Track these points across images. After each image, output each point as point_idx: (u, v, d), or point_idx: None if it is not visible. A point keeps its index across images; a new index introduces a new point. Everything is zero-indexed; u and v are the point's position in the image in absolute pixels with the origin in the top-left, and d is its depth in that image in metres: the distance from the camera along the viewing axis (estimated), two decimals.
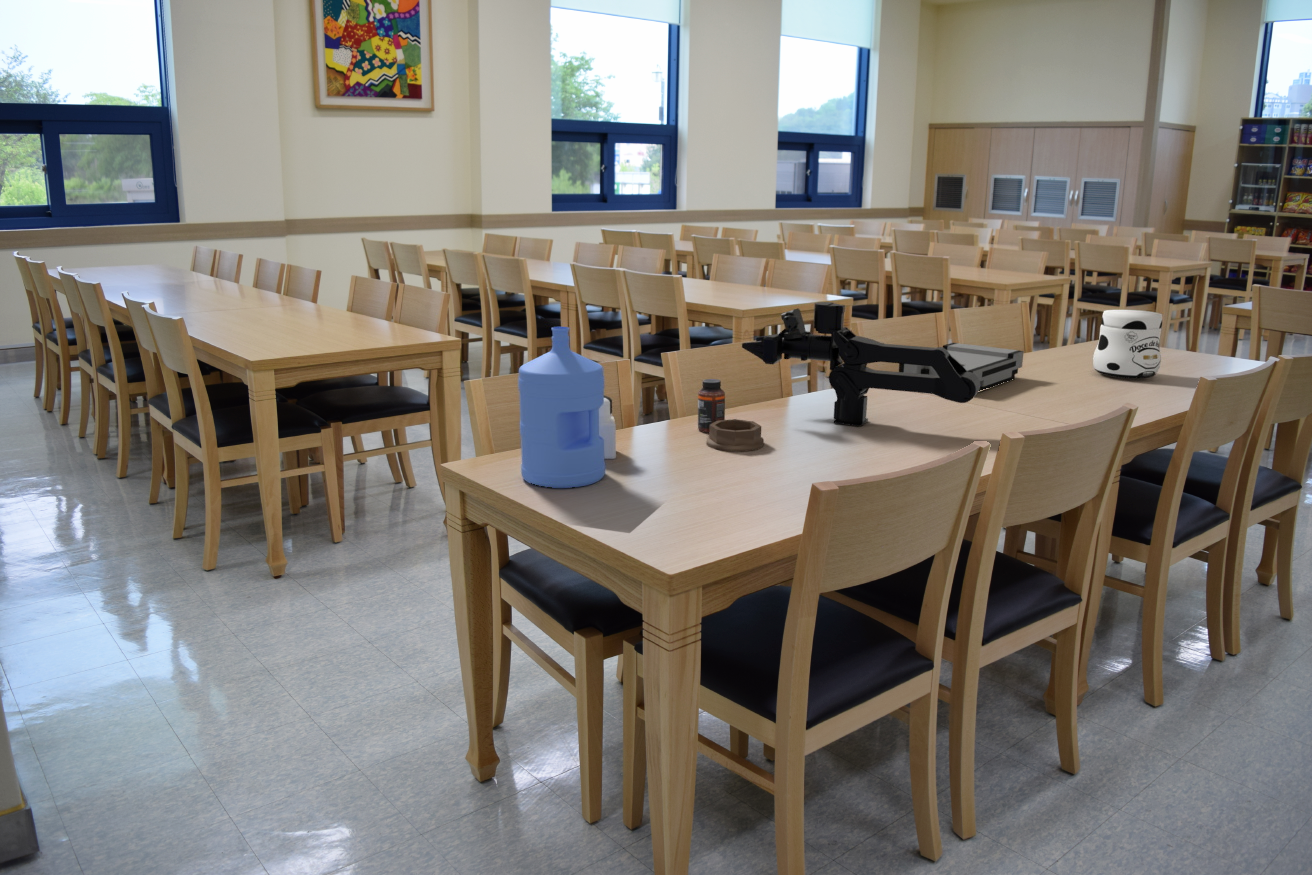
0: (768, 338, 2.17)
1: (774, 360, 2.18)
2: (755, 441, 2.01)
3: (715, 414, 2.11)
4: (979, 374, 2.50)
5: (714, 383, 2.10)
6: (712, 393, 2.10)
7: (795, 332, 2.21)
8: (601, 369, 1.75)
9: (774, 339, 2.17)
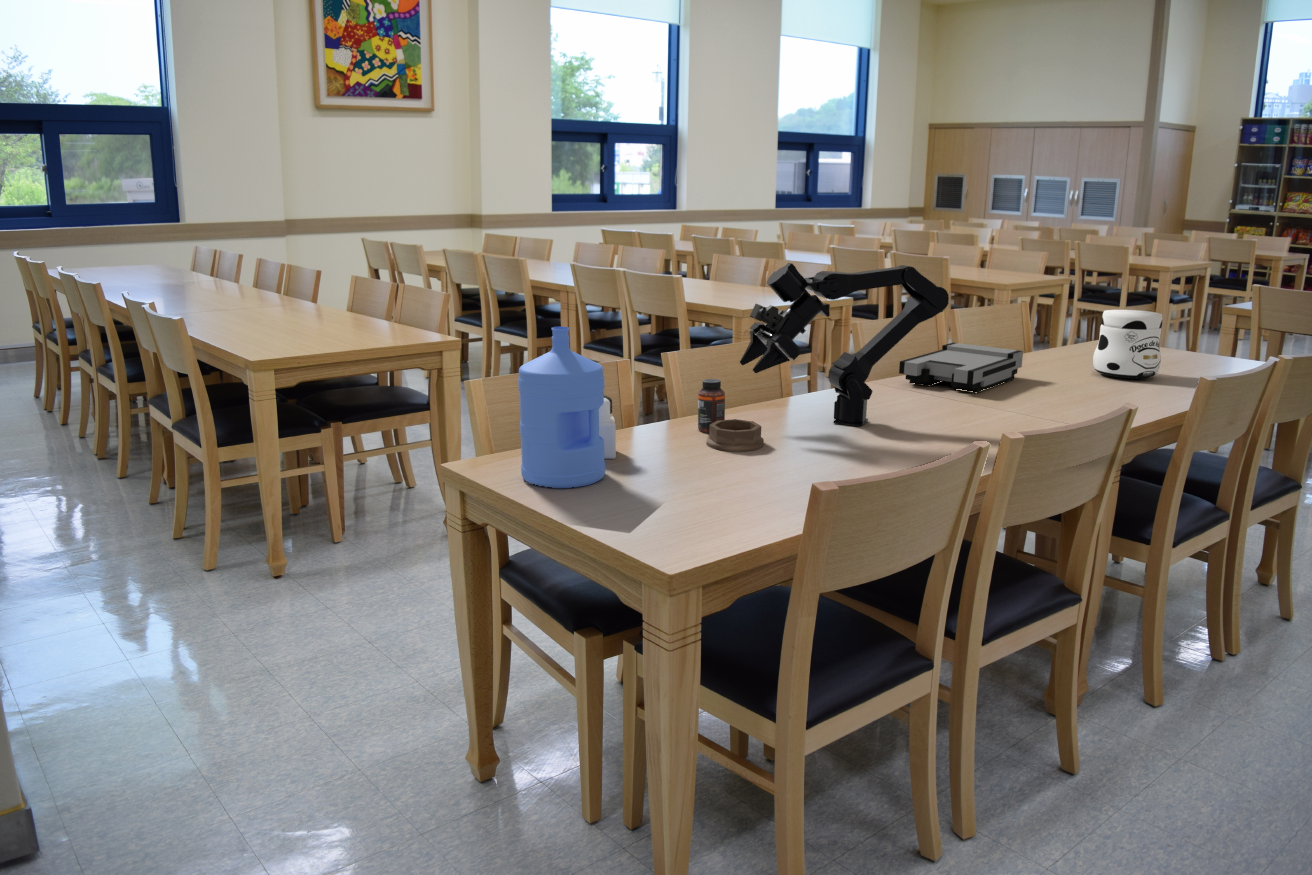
0: (778, 339, 2.04)
1: (798, 349, 2.05)
2: (755, 441, 2.01)
3: (715, 414, 2.11)
4: (979, 374, 2.50)
5: (714, 383, 2.10)
6: (712, 393, 2.10)
7: (779, 319, 2.10)
8: (601, 369, 1.75)
9: (783, 335, 2.04)
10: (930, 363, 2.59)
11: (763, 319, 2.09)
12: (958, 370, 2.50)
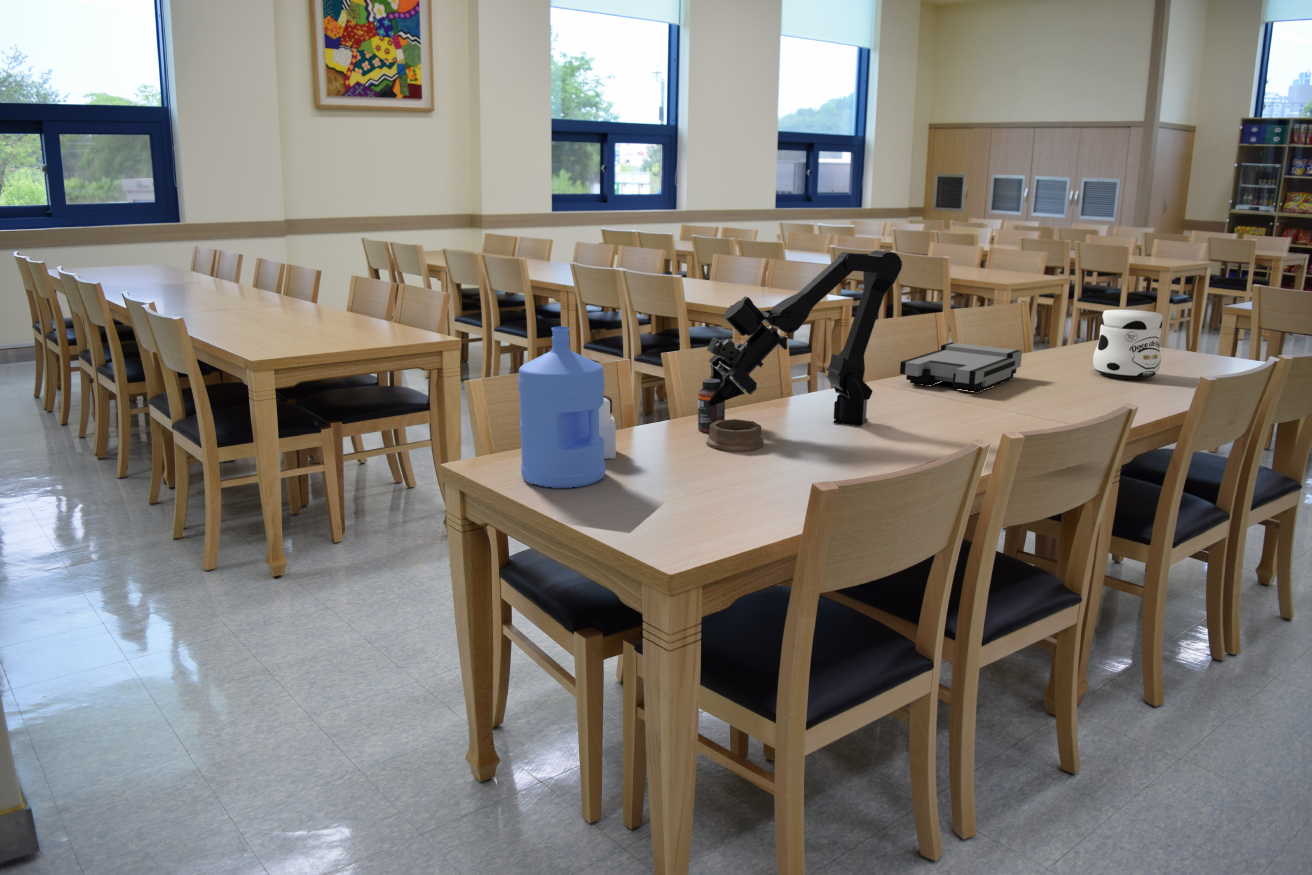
0: (734, 374, 2.03)
1: (755, 384, 2.05)
2: (755, 441, 2.01)
3: (715, 414, 2.11)
4: (981, 374, 2.50)
5: (714, 383, 2.10)
6: (712, 393, 2.10)
7: (736, 353, 2.09)
8: (601, 369, 1.75)
9: (739, 370, 2.03)
10: (931, 363, 2.59)
11: (720, 353, 2.08)
12: (960, 370, 2.50)
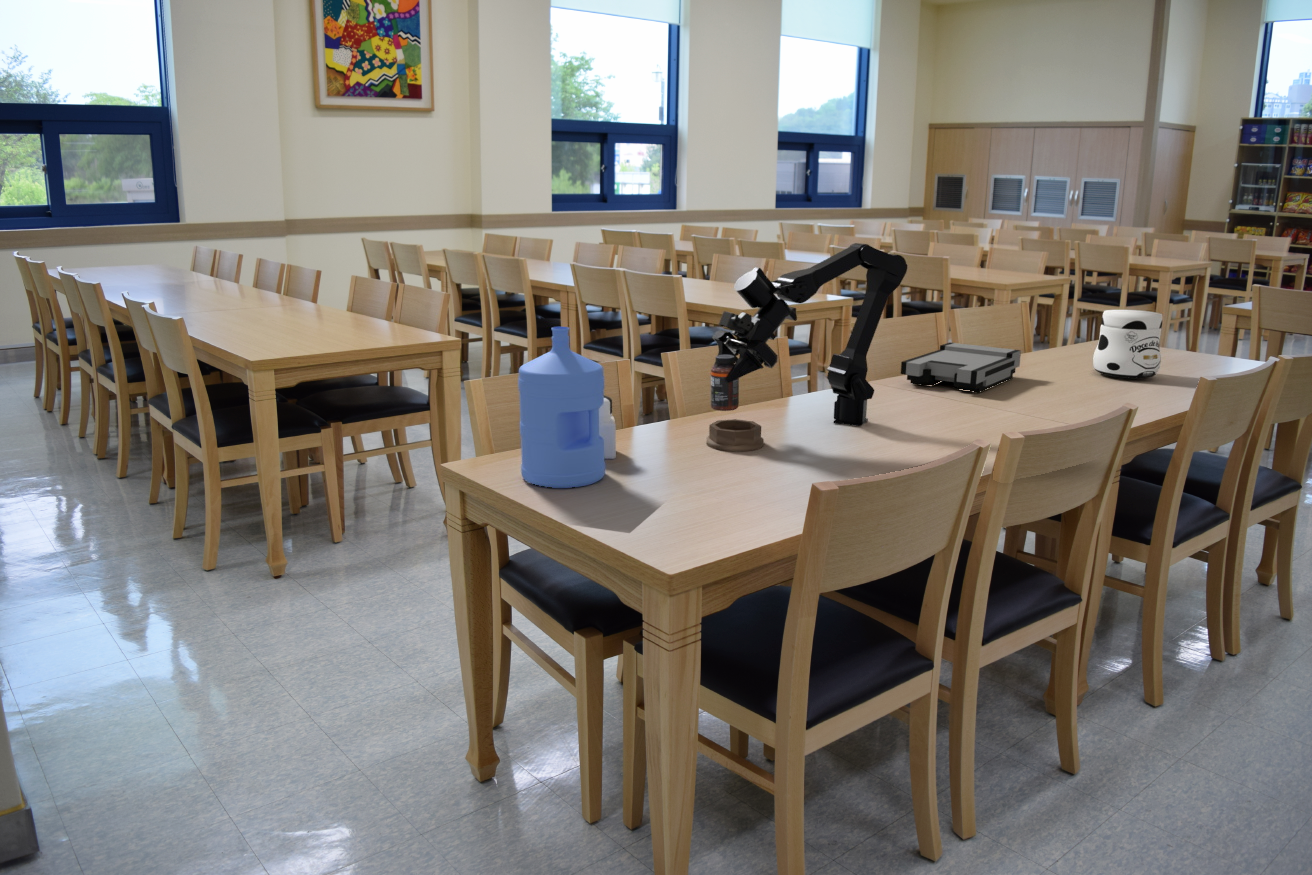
0: (757, 347, 1.96)
1: (776, 357, 1.98)
2: (755, 441, 2.01)
3: (732, 391, 2.03)
4: (982, 374, 2.51)
5: (729, 359, 2.02)
6: (729, 369, 2.02)
7: (750, 326, 2.02)
8: (601, 369, 1.75)
9: (762, 343, 1.96)
10: (932, 363, 2.59)
11: (735, 327, 2.00)
12: (961, 370, 2.50)
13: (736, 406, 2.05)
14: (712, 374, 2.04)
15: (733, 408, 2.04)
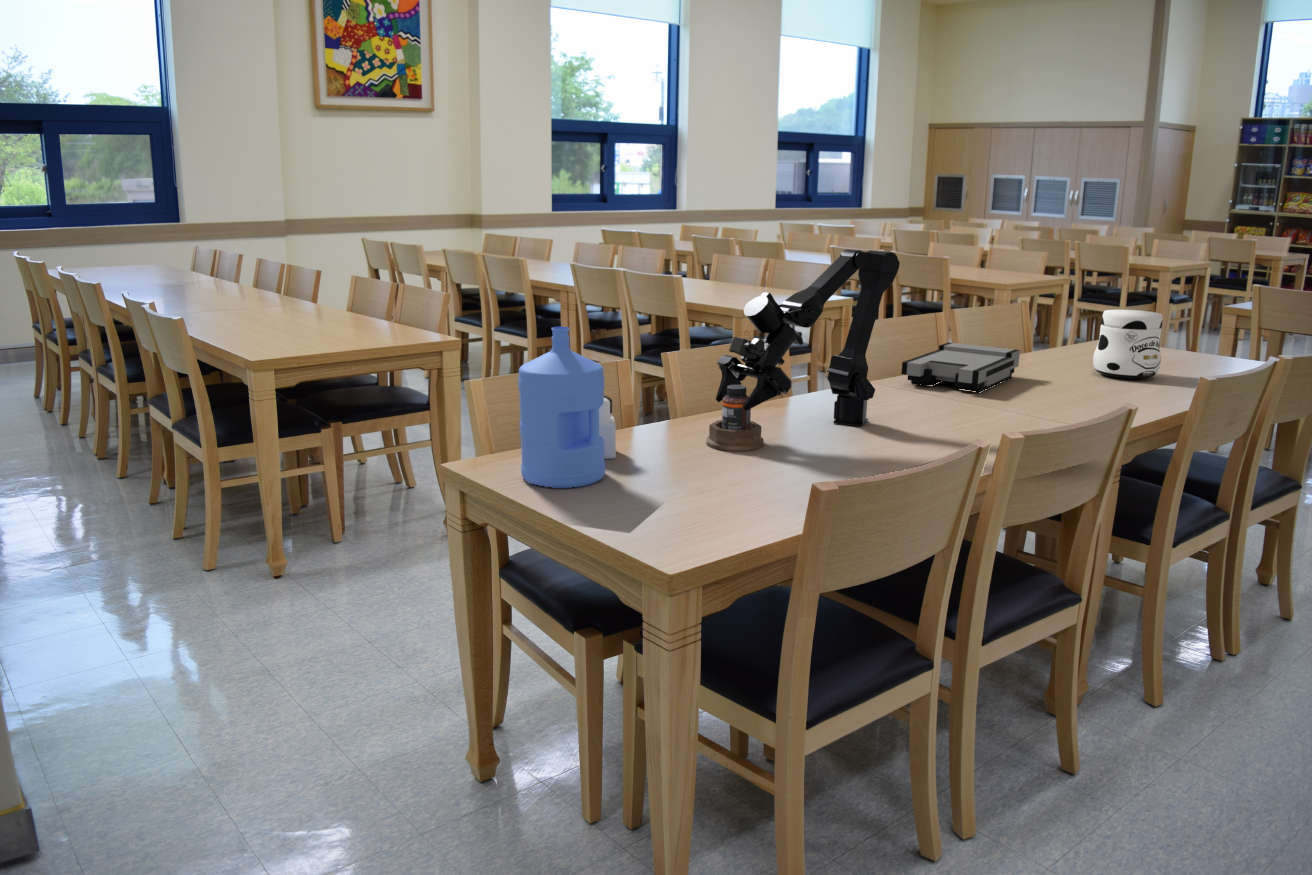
0: (774, 374, 1.94)
1: None
2: (755, 441, 2.01)
3: (745, 421, 2.01)
4: (983, 374, 2.51)
5: (743, 389, 2.00)
6: (742, 399, 1.99)
7: None
8: (601, 369, 1.75)
9: (777, 369, 1.94)
10: (932, 363, 2.59)
11: (748, 353, 1.98)
12: (963, 370, 2.50)
13: None
14: (725, 405, 2.01)
15: None
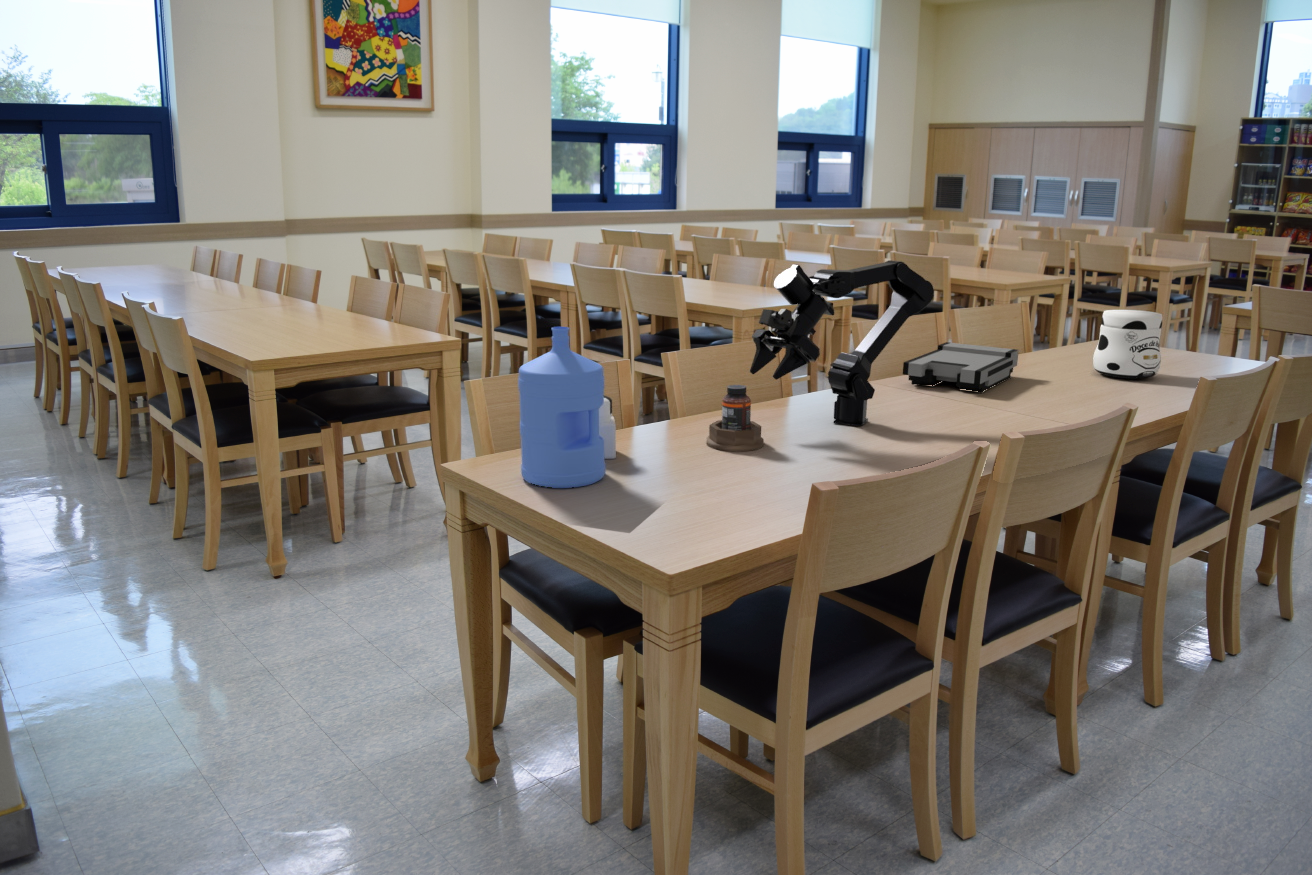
0: (800, 341, 1.99)
1: (818, 350, 2.01)
2: (755, 441, 2.01)
3: (745, 421, 2.01)
4: (985, 374, 2.51)
5: (743, 389, 2.00)
6: (742, 399, 2.00)
7: None
8: (601, 369, 1.75)
9: (803, 337, 1.99)
10: (933, 363, 2.59)
11: (776, 324, 2.03)
12: (965, 370, 2.50)
13: None
14: (725, 405, 2.01)
15: None
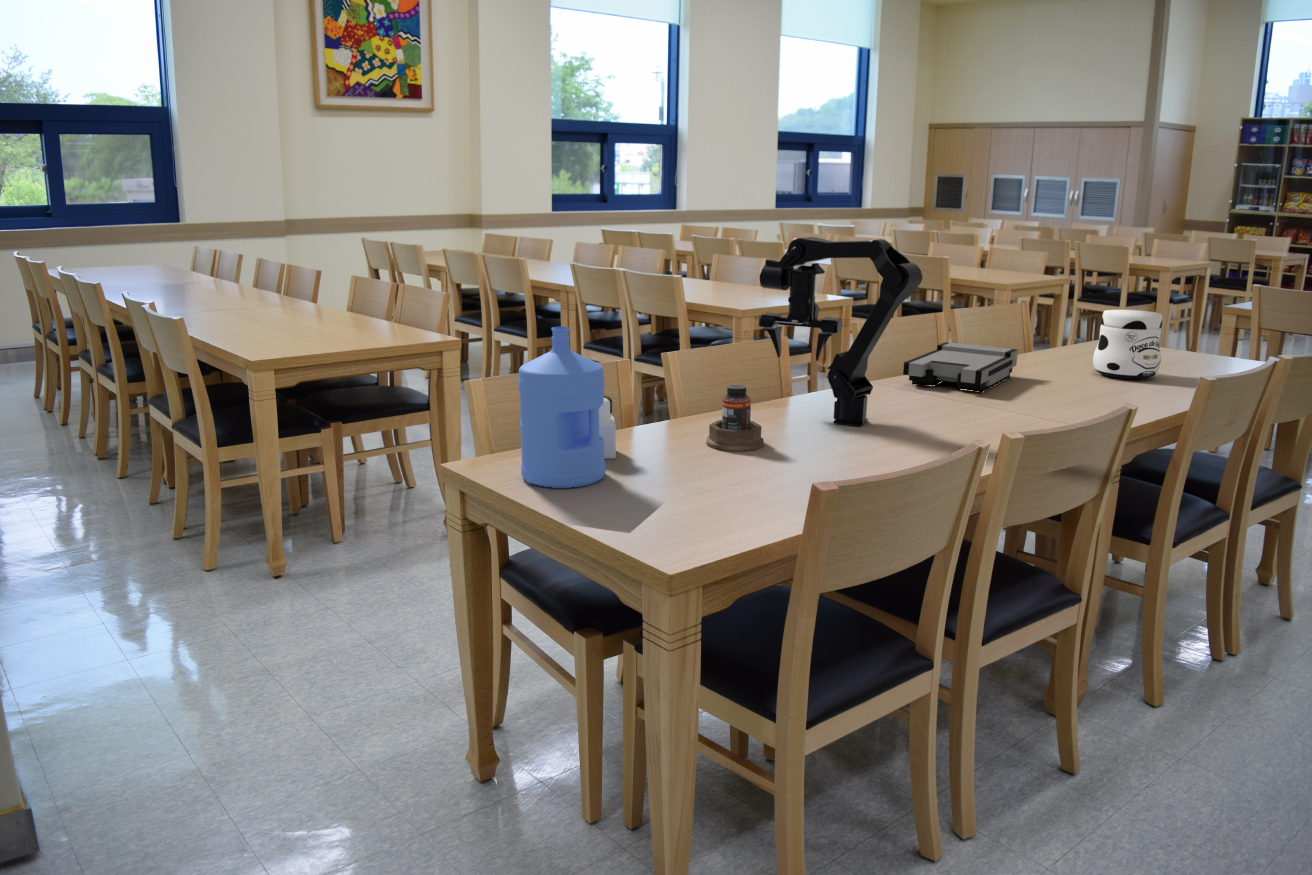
0: None
1: (760, 316, 2.27)
2: (755, 441, 2.01)
3: (745, 421, 2.01)
4: (986, 374, 2.51)
5: (743, 389, 2.00)
6: (742, 399, 2.00)
7: None
8: (601, 369, 1.75)
9: None
10: (934, 364, 2.59)
11: None
12: (965, 370, 2.50)
13: None
14: (725, 405, 2.01)
15: None
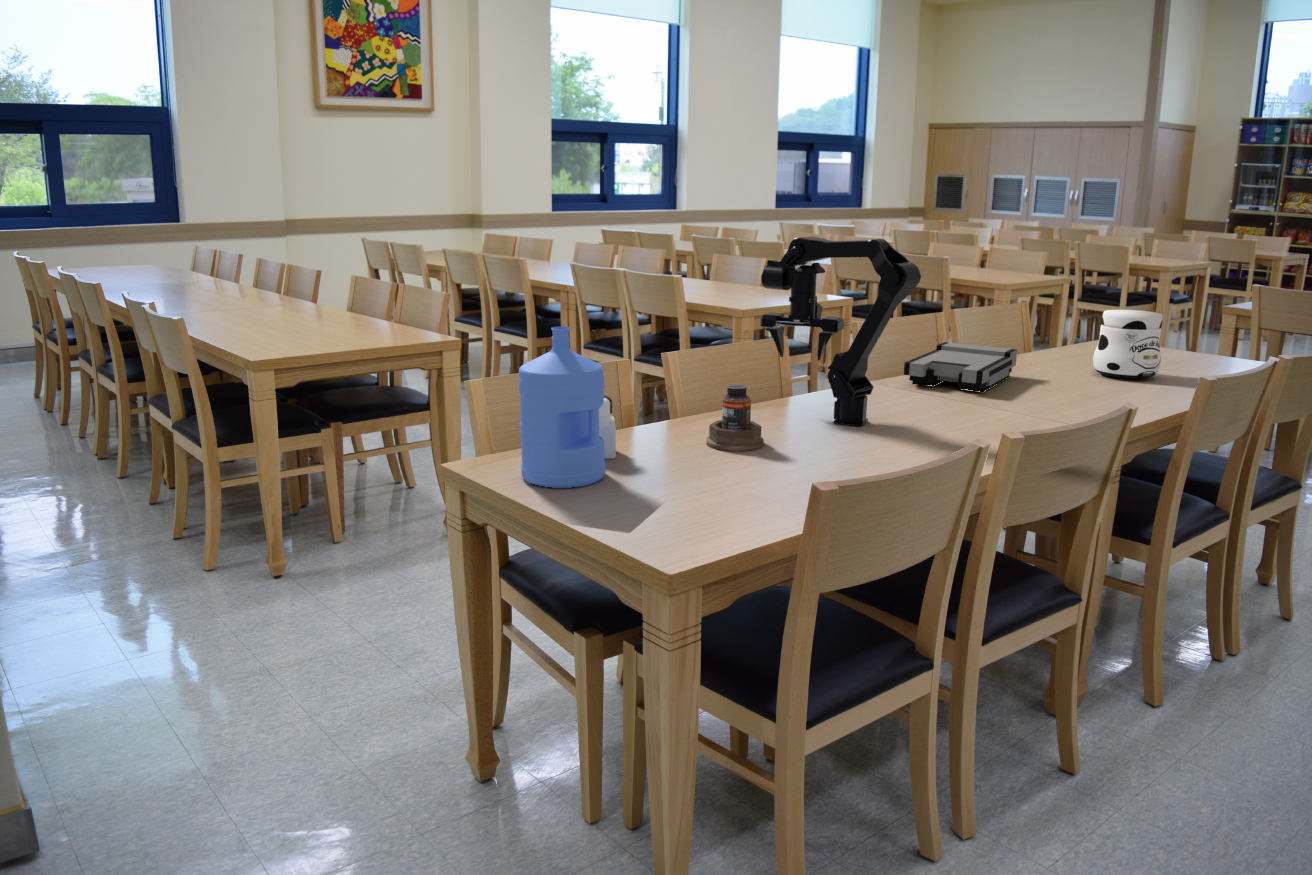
0: None
1: (762, 316, 2.28)
2: (755, 441, 2.01)
3: (745, 421, 2.01)
4: (986, 374, 2.51)
5: (743, 389, 2.00)
6: (742, 399, 2.00)
7: None
8: (601, 369, 1.75)
9: None
10: (934, 364, 2.58)
11: None
12: (966, 370, 2.50)
13: None
14: (725, 405, 2.01)
15: None
